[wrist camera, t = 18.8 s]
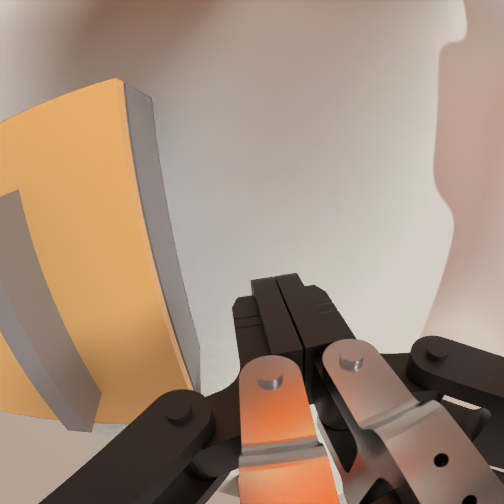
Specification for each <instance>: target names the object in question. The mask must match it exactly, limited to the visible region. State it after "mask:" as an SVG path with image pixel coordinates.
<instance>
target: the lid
mask: <svg viewBox="0 0 504 504" xmlns="http://www.w3.org/2000/svg"><path fill="white" fill-rule="evenodd" d="M178 389H188V390H193V387H192V384H191V381H190V379H189V376H188V373H187V370H186V367H185V364H184V362H183V359H182V356H181V353H180V350H179V347H178V344H177V340H176V337H175V334H174V331H173V328H172V325H171V321H170V318H169V315H168V311H167V308H166V304H165V301H164V297H163V294H162V290H161V287H160V283H159V279H158V276H157V272H156V268H155V264H154V260H153V256H152V252H151V248H150V243H149V239H148V235H147V230H146V226H145V221H144V217H143V212H142V207H141V202H140V197H139V192H138V186H137V181H136V175H135V169H134V164H133V157H132V151H131V144H130V137H129V130H128V122H127V114H126V106H125V96H124V86H123V81H121V80H120V79H118V78H113V79H109V80H106V81H103V82H99V83H96V84H93V85H90V86H87V87H84V88H81V89H78V90H75V91H72V92H69V93H67V94H64V95H61V96H59V97H56V98H54V99H51V100H49V101H46V102H44V103H42V104H39V105H37V106H35V107H32V108H30V109H28V110H26V111H24V112H22V113H19V114H17V115H15V116H13V117H11V118H9V119H7V120H5V121H3V122H2V123H0V411H4V412H9V413H14V414H19V415H26V416H31V417H38V418H45V419H54V420H60V421H61V422H62V423H63V425H64V426H65V427H66V428H67V429H68V430H72V431H82V432H92V428H93V424H94V423H108V424H130V423H131V422H132V421H133V420H135V419H136V418H137V417H138V416H139V415H140V414H141V413H142V412H143V411H144V410H145V409H146V408H147V407H148V406H149V405H151V404H152V403H153V402H154V401H155V400H156V399H157V398H158V397H159V396H161V395H163V394H165V393H167V392H169V391H173V390H178ZM193 391H194V390H193Z"/></svg>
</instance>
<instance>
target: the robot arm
mask: <svg viewBox="0 0 504 504" xmlns="http://www.w3.org/2000/svg"><path fill="white" fill-rule="evenodd" d="M251 289H252V296H246V297H239V298H237V299H236V301H235V303H234V305H233V307H232V311H233V318H234V325H235V332H236V339H237V346H238V353H239V359H240V372H239V375H238V377H237V378H236V380H235V381H234V382H233V383H232V384H231V385H230V386H228V387H227V388H225V389H224V390H222V391H220V392H217V393H215V394H212V395H209V396H207V397H204V396H203V395H202V394H200V393H198V392H196V391H193V390H188V389H178V390H173V391H169V392H167V393H165V394H163V395H161V396H159V397H158V398H157V399H156V400H155V401H154V402H153V403H152V404H151V405H149V406H148V407H147V408H146V409H145V410H144V411H143V412H142V413H141V414H140V415H139V416H138V417H137V418H136V419H135V420H133V421H132V422H131V423H130V424H129V425H128V426H127V427H126V428H125V429H124V430H123V431H122V432H120V433H119V434H118V435H117V436H116V437H115V438H114V439H113V440H112V441H111V442H109V443H108V444H107V445H106V446H105V447H104V448H103V449H102V450H101V451H99V452H98V453H97V454H96V455H95V456H94V457H93V458H92V459H90V461H88V462H87V463H86V464H85V465H84V466H82V467H81V468H80V469H79V470H78V471H77V472H76V473H74V474H73V475H72V476H71V477H70V478H69V479H67V480H66V481H65V482H64V483H63V484H61V485H60V486H59V487H58V488H57V489H56V490H54V491H53V492H52V493H51V494H50V495H48V496H47V497H46V498H45V499H43V500H42V501H41V502H40V503H39V504H205V503H206V502H207V501H208V500H209V499H210V497H211V496H212V495H213V494H214V492H215V491H216V490H217V489H218V488H219V486H220V485H221V484H222V483H223V481H224V480H225V479H226V478H227V476H228V475H229V473H230V471H232V470H235V469H237V468H239V485H240V504H339V500H338V495H337V491H336V487H335V483H334V479H333V475H332V471H331V467H330V463H329V459H328V455H327V452H326V449H325V447H324V445H323V444H322V443H319V441H318V438H317V435H316V431H315V427H314V423H313V419H312V415H311V410H310V406H309V405H311V404H315V407H316V410H317V412H318V416H317V425H318V428H319V430H320V433H321V435H322V437H323V439H324V441H325V443H326V445H327V448H328V450H329V452H330V454H331V456H332V458H333V460H334V463H335V465H336V467H337V469H338V471H339V473H340V476H341V479H342V483H343V491H344V495H345V498H346V501H347V503H348V504H504V473H503V472H500V471H497V470H494V469H491V468H490V466H489V465H491V466H494V467H498V468H502V469H504V357H502V356H499V355H495V354H492V353H489V352H486V351H483V350H480V349H477V348H474V347H471V346H467V345H464V344H461V343H458V342H455V341H452V340H449V339H446V338H442V337H439V336H426V337H423V338H420V339H419V340H417V341H416V342H415V343H414V344H413V346H412V348H411V352H410V353H399V354H381V353H379V352H378V351H377V350H376V349H375V347H374V346H372V345H371V344H369V343H367V342H365V341H362V340H358V339H356V338H355V336H354V335H353V333H352V332H351V330H350V328H349V327H348V325H347V324H346V322H345V321H344V319H343V318H342V316H341V315H340V313H339V311H337V308H336V307H335V305H334V304H333V303H332V301H331V299H330V298H329V296H328V295H327V293H326V292H325V291H324V290H322V289H320V288H319V287H317V286H315V285H311V286H305V287H304V285H303V283H302V281H301V280H300V278H299V276H298V274H297V273H293V274H287V275H281V276H275V277H274V278H273V277H269V278H262V279H256V280H251ZM444 395H447V396H450V397H453V398H455V399H458V400H461V401H464V402H467V403H470V404H473V405H476V406H479V407H481V408H480V409H476V410H472V409H469V408H466V407H463V406H460V405H457V404H454V403H451V402H448V401H446V400H443V399H442V398H443V397H444Z"/></svg>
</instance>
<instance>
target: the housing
mask: <svg viewBox="0 0 504 504" xmlns="http://www.w3.org/2000/svg"><path fill="white" fill-rule="evenodd" d="M123 86H124V96H125V106H126V114H127V122H128V130H129V137H130V144H131V151H132V157H133V164H134V169H135V175H136V181H137V186H138V192H139V197H140V202H141V207H142V212H143V217H144V221H145V226H146V230H147V235H148V239H149V243H150V248H151V252H152V256H153V260H154V264H155V268H156V272H157V276H158V279H159V283H160V287H161V290H162V294H163V297H164V301H165V304H166V308H167V311H168V315H169V318H170V321H171V325H172V328H173V331H174V334H175V337H176V340H177V344H178V347H179V350H180V353H181V356H182V359H183V362H184V364H185V367H186V370H187V373H188V376H189V379H190V381H191V384H192V387H193V390H194V391H196V392H198V393H200V394H201V389H200V346H199V342H198V339H197V335H196V331H195V328H194V324H193V320H192V316H191V312H190V308H189V304H188V300H187V296H186V292H185V288H184V284H183V279H182V275H181V271H180V266H179V262H178V257H177V252H176V248H175V243H174V238H173V233H172V228H171V223H170V218H169V213H168V207H167V202H166V196H165V191H164V185H163V179H162V173H161V166H160V160H159V153H158V147H157V139H156V132H155V125H154V117H153V108H152V99H151V98H150V97H149V96H147V95H146V94H144V93H142V92H141V91H139V90H137V89H136V88H134V87H132V86H131V85H129V84H127V83H123Z"/></svg>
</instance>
